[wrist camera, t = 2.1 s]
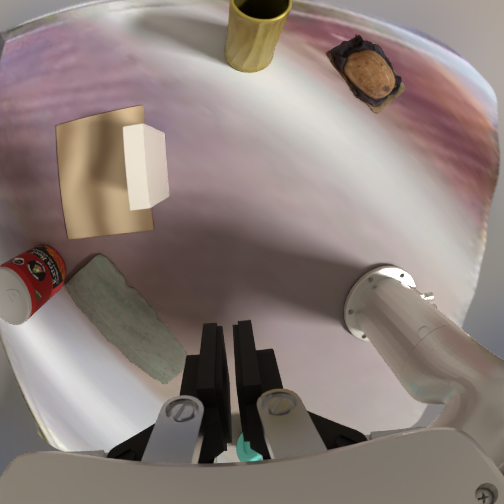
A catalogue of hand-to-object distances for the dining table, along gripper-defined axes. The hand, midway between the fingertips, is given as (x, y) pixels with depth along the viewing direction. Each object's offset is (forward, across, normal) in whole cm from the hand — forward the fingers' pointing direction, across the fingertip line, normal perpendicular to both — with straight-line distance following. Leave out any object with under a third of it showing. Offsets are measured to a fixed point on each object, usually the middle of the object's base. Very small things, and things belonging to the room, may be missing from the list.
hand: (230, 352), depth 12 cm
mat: (+27, +16, -8) cm, 32 cm away
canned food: (+27, +28, +4) cm, 39 cm away
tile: (+27, +8, -8) cm, 29 cm away
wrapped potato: (+28, -20, -20) cm, 40 cm away
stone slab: (+28, +16, +14) cm, 35 cm away
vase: (+27, -4, -22) cm, 35 cm away
